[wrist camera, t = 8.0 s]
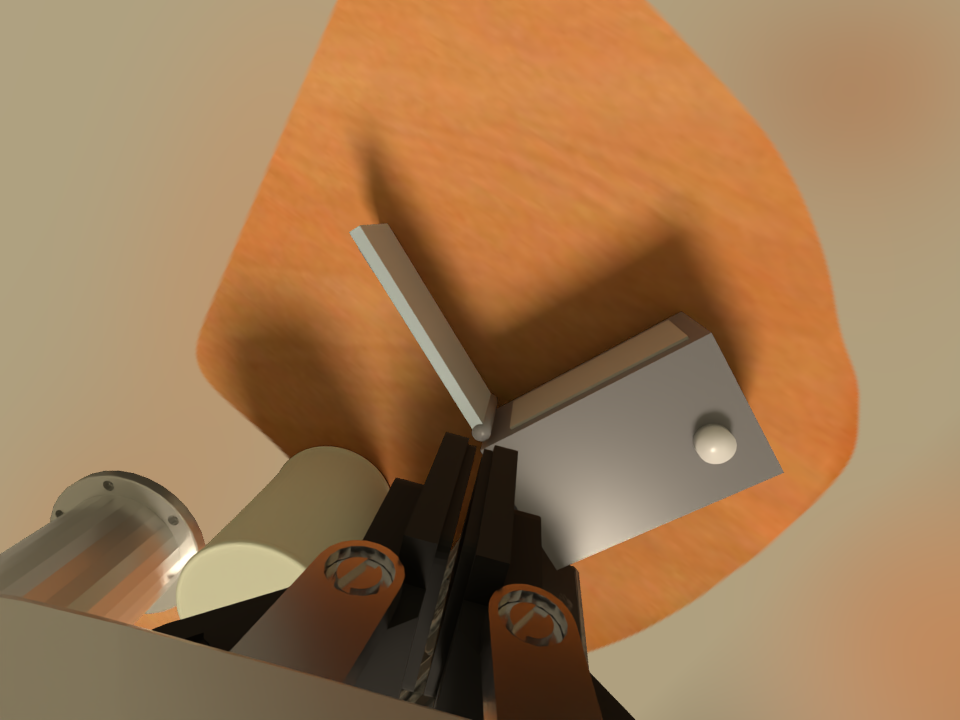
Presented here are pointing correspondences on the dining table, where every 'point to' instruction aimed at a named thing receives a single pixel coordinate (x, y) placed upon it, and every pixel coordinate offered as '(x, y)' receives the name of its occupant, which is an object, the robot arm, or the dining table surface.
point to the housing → (632, 440)
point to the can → (284, 529)
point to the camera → (553, 581)
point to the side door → (428, 325)
